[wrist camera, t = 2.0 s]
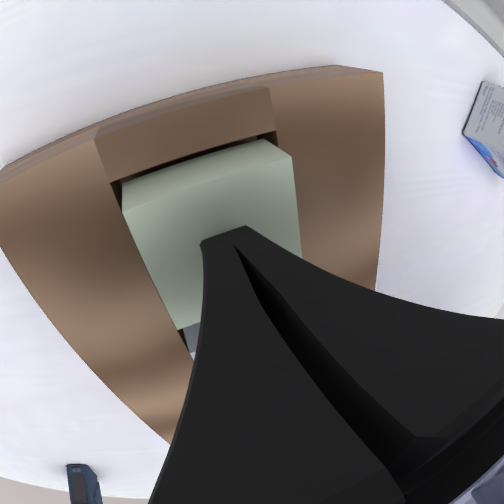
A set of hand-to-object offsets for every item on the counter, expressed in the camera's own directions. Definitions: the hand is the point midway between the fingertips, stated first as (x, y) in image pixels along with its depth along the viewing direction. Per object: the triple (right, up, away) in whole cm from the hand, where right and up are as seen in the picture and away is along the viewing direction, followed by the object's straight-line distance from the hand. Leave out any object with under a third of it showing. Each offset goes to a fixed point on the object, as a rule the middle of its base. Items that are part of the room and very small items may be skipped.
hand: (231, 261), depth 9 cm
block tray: (-1, -2, +8) cm, 8 cm away
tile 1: (-1, +1, +2) cm, 3 cm away
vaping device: (-17, -22, +15) cm, 31 cm away
